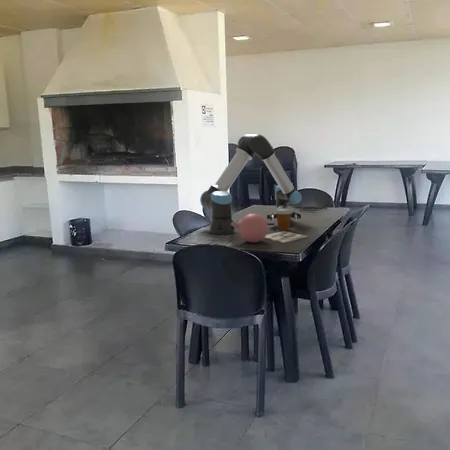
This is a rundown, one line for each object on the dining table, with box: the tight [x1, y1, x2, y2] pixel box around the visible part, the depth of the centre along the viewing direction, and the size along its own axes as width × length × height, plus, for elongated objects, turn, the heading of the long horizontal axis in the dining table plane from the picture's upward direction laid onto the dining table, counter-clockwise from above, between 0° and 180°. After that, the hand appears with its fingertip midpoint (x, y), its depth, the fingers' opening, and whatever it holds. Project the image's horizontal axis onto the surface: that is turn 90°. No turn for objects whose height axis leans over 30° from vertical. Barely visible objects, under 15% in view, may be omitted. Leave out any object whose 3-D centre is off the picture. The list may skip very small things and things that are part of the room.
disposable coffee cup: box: [275, 207, 293, 232], centre depth 306 cm, size 10×10×12 cm
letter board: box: [263, 231, 308, 244], centre depth 287 cm, size 18×18×1 cm
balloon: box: [231, 212, 269, 244], centre depth 278 cm, size 15×20×15 cm
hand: (284, 219), depth 306 cm, fingers open, 13 cm apart
